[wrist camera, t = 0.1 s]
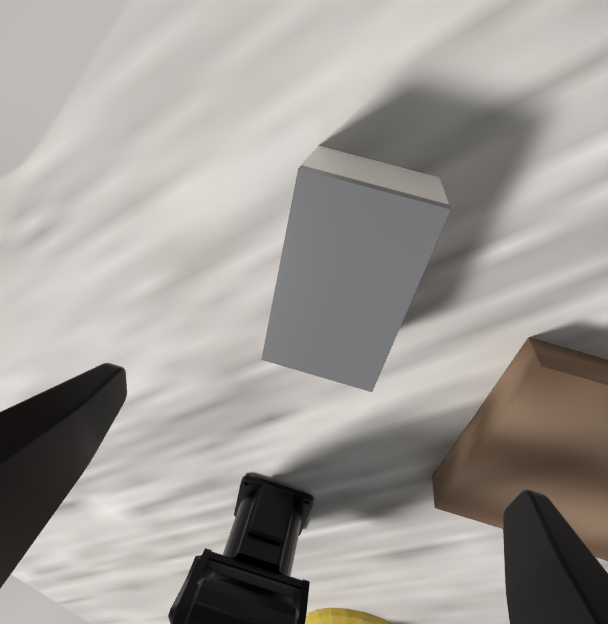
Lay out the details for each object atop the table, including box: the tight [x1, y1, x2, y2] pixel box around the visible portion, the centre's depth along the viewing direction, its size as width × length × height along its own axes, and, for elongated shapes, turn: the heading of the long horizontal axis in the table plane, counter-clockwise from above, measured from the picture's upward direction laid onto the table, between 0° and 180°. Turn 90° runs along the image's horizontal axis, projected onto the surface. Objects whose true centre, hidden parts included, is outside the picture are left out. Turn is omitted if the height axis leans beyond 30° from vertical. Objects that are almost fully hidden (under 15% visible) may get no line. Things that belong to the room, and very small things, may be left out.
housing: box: [262, 145, 451, 392], centre depth 20 cm, size 10×6×5 cm, turn 168°
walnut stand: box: [432, 338, 608, 561], centre depth 25 cm, size 14×16×2 cm
